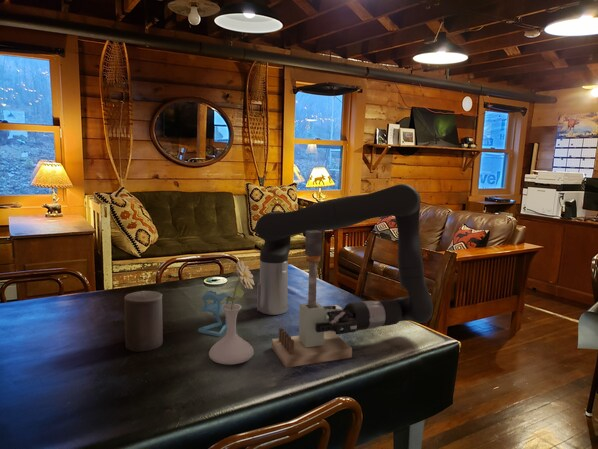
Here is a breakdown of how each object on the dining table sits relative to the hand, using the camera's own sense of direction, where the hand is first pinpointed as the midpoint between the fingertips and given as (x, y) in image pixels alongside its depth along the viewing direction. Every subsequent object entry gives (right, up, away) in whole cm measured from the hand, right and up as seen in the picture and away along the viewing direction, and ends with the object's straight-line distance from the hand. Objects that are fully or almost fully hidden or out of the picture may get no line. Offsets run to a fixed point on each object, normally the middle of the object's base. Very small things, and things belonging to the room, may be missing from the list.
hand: (309, 322), depth 117 cm
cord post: (0, -8, +1) cm, 9 cm away
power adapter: (+5, -6, +20) cm, 21 cm away
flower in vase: (-20, -9, -2) cm, 22 cm away
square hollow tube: (0, -6, +1) cm, 6 cm away
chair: (-27, -6, +16) cm, 32 cm away
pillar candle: (-45, -7, +5) cm, 46 cm away
